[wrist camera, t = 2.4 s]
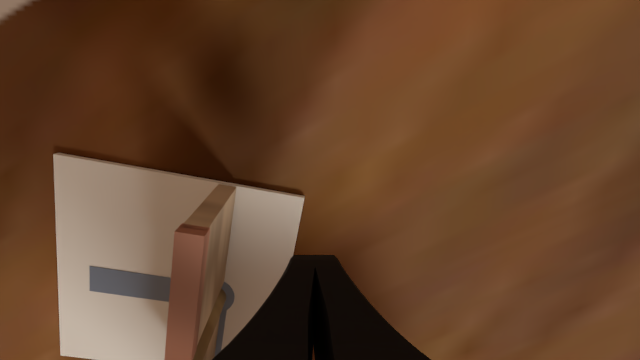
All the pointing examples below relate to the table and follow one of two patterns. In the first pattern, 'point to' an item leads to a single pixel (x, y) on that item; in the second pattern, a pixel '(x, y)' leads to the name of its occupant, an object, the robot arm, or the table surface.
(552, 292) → the table surface
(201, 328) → the folding panel
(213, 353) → the fixed panel
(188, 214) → the card
